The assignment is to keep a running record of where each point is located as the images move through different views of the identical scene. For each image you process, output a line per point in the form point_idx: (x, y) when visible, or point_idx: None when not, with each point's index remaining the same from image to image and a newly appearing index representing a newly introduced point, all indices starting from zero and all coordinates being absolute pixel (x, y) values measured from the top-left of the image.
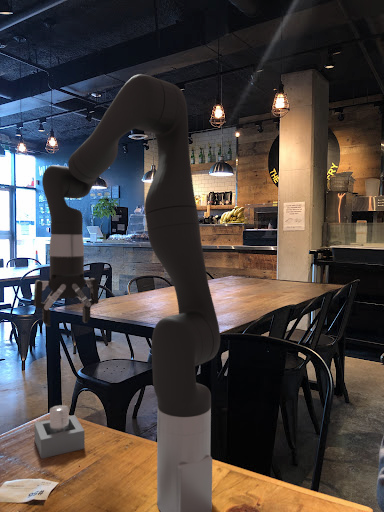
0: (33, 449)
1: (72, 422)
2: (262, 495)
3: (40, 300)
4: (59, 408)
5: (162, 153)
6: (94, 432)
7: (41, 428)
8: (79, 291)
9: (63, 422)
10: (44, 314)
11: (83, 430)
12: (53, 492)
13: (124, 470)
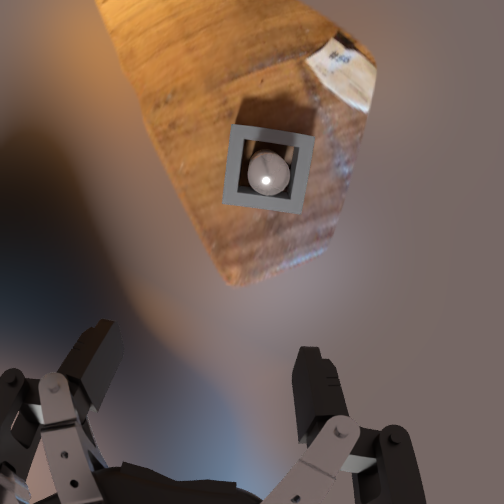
0: None
1: (238, 172)
2: None
3: (390, 466)
4: (267, 177)
5: None
6: (195, 176)
7: (298, 181)
8: (70, 486)
9: (265, 152)
10: (340, 398)
11: (233, 125)
12: (320, 44)
13: (207, 36)
